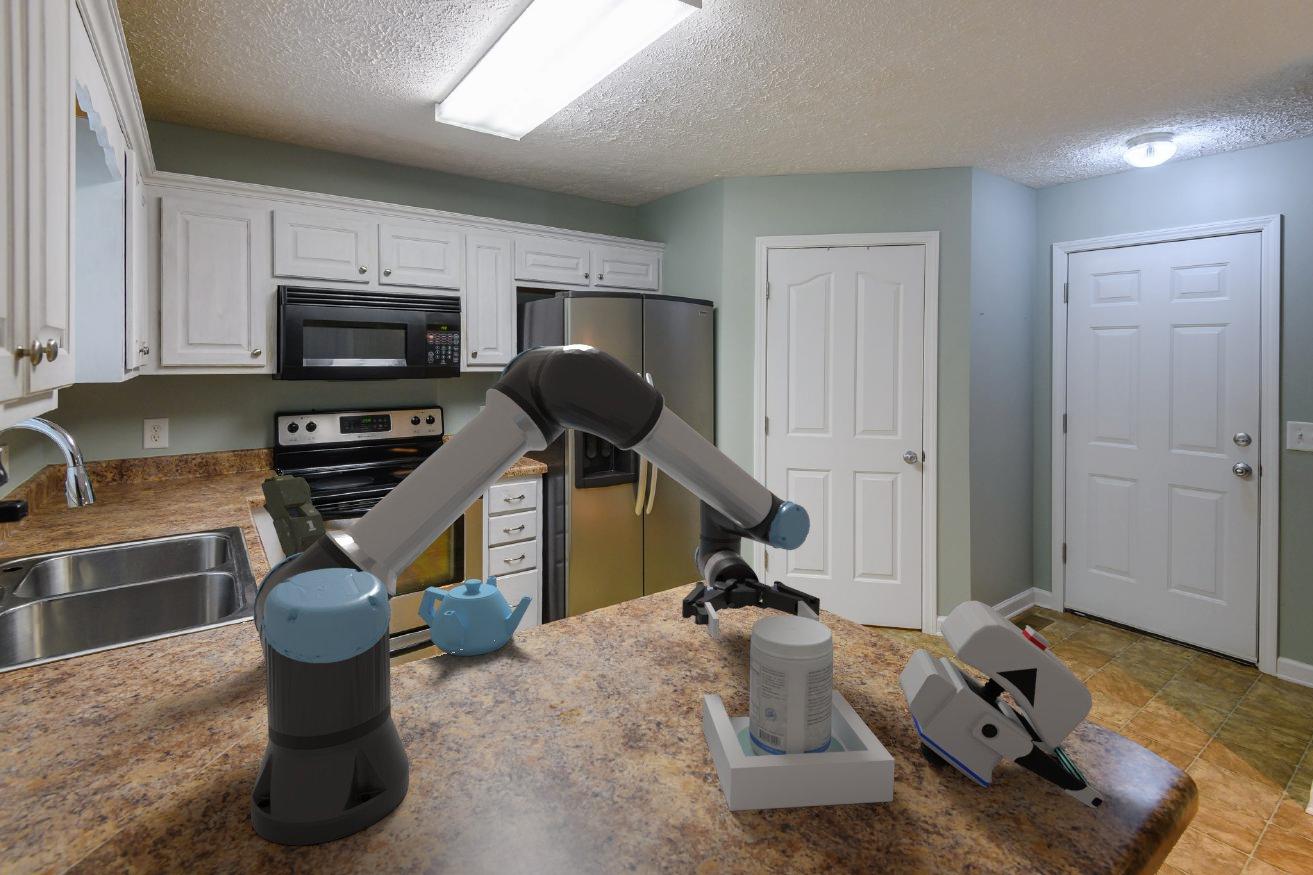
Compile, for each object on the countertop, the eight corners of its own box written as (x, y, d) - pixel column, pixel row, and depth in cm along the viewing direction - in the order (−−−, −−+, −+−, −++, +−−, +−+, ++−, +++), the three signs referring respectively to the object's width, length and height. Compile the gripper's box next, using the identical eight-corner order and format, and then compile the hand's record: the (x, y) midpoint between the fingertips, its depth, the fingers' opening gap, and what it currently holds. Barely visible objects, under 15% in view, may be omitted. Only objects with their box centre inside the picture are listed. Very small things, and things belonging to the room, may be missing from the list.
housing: (729, 810, 68) (731, 768, 68) (702, 729, 84) (703, 694, 84) (892, 801, 70) (894, 759, 70) (836, 723, 86) (837, 689, 86)
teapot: (498, 619, 122) (497, 563, 121) (535, 645, 110) (534, 583, 109) (415, 637, 113) (414, 577, 112) (445, 668, 101) (445, 601, 100)
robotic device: (1040, 865, 71) (1171, 736, 68) (878, 739, 73) (997, 608, 70) (1008, 805, 81) (1120, 690, 78) (867, 696, 84) (969, 579, 80)
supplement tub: (817, 726, 82) (822, 614, 81) (841, 772, 72) (847, 645, 71) (741, 726, 82) (744, 613, 80) (755, 772, 72) (759, 644, 71)
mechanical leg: (355, 650, 105) (325, 467, 106) (311, 666, 99) (280, 472, 100) (310, 650, 112) (282, 479, 113) (266, 665, 106) (237, 485, 107)
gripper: (803, 600, 108) (855, 653, 87) (655, 602, 106) (672, 657, 85) (805, 556, 108) (858, 599, 87) (656, 557, 105) (674, 601, 84)
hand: (766, 628), depth 86 cm, fingers open, 13 cm apart
